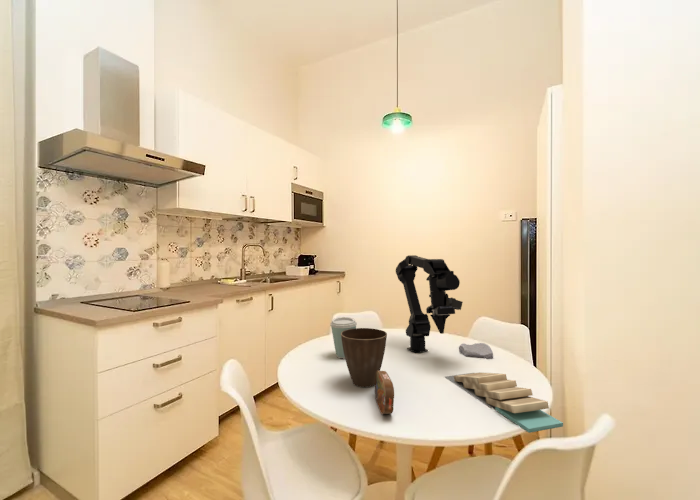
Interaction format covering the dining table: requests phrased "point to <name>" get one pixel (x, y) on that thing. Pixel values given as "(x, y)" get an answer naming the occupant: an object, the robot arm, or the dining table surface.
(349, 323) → the disposable coffee cup
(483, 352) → the stone block
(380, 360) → the plant pot
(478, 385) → the domino
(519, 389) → the domino
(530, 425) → the domino
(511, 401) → the domino
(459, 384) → the mat
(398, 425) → the dining table surface
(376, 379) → the tin
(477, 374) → the domino
